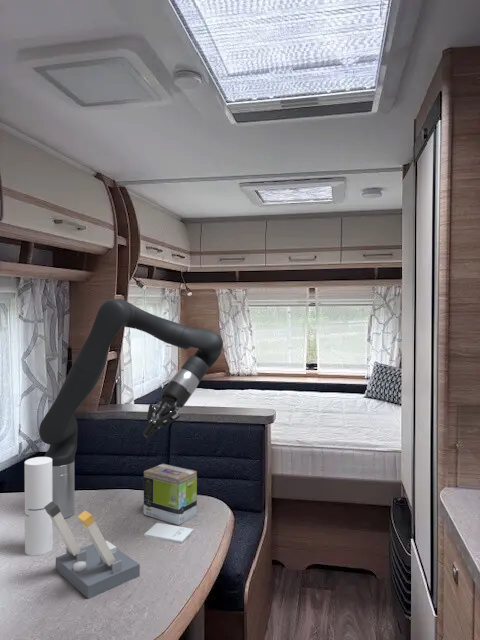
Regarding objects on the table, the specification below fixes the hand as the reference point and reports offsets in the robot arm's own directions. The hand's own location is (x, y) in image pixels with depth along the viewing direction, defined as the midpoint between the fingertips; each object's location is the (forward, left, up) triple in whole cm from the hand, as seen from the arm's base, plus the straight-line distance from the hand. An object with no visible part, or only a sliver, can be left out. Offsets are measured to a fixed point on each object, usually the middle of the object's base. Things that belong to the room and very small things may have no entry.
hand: (145, 436), depth 137 cm
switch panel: (+2, -16, -32) cm, 36 cm away
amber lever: (+7, -15, -28) cm, 32 cm away
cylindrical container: (-20, -22, -32) cm, 44 cm away
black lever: (-4, -19, -28) cm, 34 cm away
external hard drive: (-2, +10, -33) cm, 34 cm away
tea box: (-13, +18, -32) cm, 39 cm away
